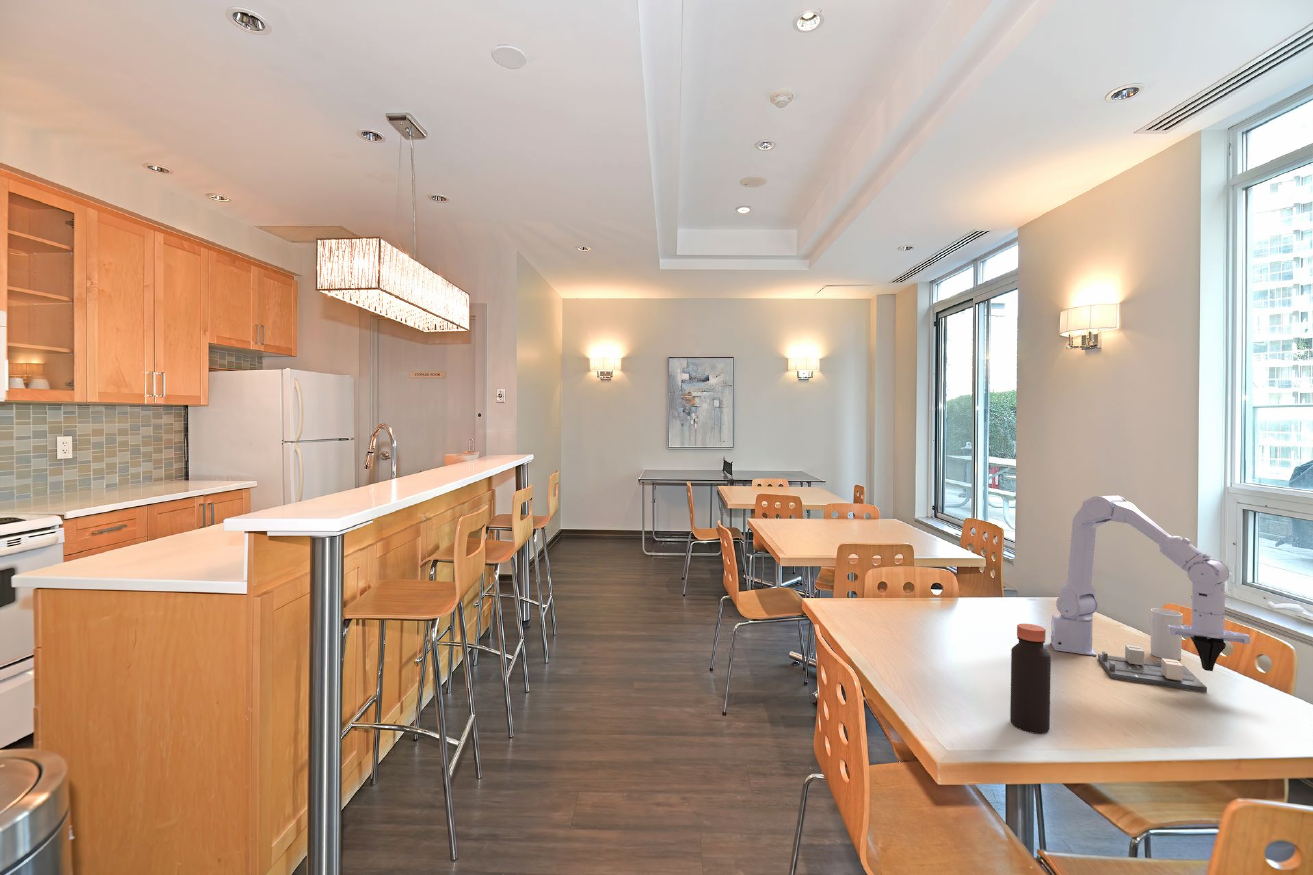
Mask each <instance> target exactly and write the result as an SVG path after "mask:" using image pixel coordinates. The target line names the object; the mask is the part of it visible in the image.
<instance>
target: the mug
mask: <svg viewBox="0 0 1313 875" xmlns="http://www.w3.org/2000/svg"><path fill="white" fill-rule="evenodd" d="M1183 617H1184V613H1182V612H1179V611H1176V610H1171V609H1166V608H1151V609H1150V617H1149V618H1150V620H1149V622H1150V623H1149V624H1150V628H1149V629H1150V654H1151V655H1152V656H1154V657H1155V658H1158V657H1159V659H1162V658H1164V659H1171V660H1177V661H1179V660H1181V659H1182V644H1183V642H1182V641H1183V636H1181V635H1175V636H1174V635H1170V634H1168V625H1174V626H1184V625H1183V624H1184V623H1183V622H1184V621H1183V620H1184V619H1183Z"/></svg>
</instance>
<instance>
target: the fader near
mask: <svg viewBox="0 0 1313 875" xmlns="http://www.w3.org/2000/svg"><path fill="white" fill-rule="evenodd" d="M1161 663H1162V667H1161V673H1162V674H1163V675H1164V676H1165V677H1166V678H1168V679H1174V680H1181V681H1183V666H1184V665H1183V664H1182V663H1180V661H1179V660H1171V659H1163V658H1161Z"/></svg>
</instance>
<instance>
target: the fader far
mask: <svg viewBox="0 0 1313 875" xmlns="http://www.w3.org/2000/svg"><path fill="white" fill-rule="evenodd" d="M1124 646H1125V648H1124V650H1125V652H1124V658H1125V659H1126V660H1127V661H1128V662H1129V663H1130V664H1138V665H1144V660H1145V651H1144V650H1143V649H1142V647H1141V646H1137V645H1131V644H1130V645H1129V644H1125V645H1124Z"/></svg>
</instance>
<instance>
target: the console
mask: <svg viewBox="0 0 1313 875" xmlns="http://www.w3.org/2000/svg"><path fill="white" fill-rule="evenodd" d="M1097 659H1098V661H1099V662H1100V664H1101V665H1102V667H1103V669H1104V670H1105V671H1106V672H1107V674H1108V675H1109V677H1110V679H1113V680H1119V681H1126V682H1127V681H1128V682H1134V683H1140V684H1147V685H1152V686H1161V687H1166V688H1172V689H1179V690H1180V689H1181V690H1186V691H1187V690H1188V691H1194V692H1200V693H1206V694H1207V693H1208V687H1207V686H1206V685H1205V684H1204V683H1203V682H1202V681H1201V680H1200V679H1199V678H1198V677H1197V676H1196V675H1194V673H1192V671H1190V669H1188V667H1187V666H1185V665H1183V681H1181V680H1174V679H1168V678H1166V677H1165V676H1164V675H1163V674H1162V673H1161V667H1162V662H1160V661H1151V660H1145V659H1144V665H1138V664H1130V663H1129V662H1128V661H1127V660H1126V659H1125V657H1123V656H1117V655H1116V656H1115V655H1109V654H1108V652H1107V651H1104V650H1102V651H1101V653H1098V654H1097Z"/></svg>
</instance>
